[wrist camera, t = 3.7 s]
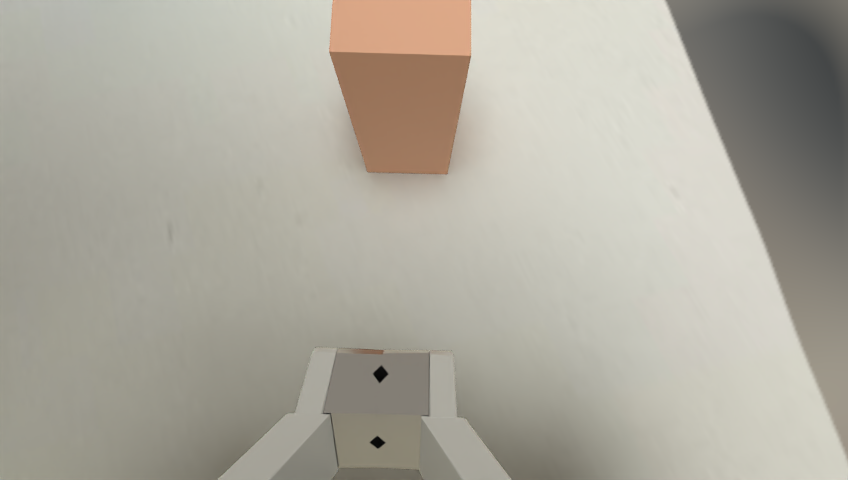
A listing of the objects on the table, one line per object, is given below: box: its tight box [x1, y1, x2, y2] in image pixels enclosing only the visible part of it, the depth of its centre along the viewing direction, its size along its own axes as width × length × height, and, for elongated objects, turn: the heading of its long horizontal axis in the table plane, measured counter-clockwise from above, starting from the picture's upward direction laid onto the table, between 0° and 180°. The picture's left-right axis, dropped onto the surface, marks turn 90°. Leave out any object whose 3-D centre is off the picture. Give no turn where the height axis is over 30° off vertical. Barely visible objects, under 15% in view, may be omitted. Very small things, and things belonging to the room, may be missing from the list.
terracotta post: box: [329, 0, 471, 174], centre depth 18 cm, size 4×4×10 cm
